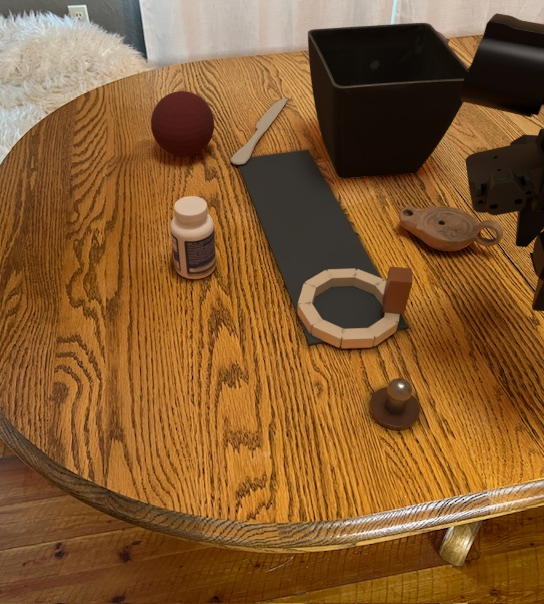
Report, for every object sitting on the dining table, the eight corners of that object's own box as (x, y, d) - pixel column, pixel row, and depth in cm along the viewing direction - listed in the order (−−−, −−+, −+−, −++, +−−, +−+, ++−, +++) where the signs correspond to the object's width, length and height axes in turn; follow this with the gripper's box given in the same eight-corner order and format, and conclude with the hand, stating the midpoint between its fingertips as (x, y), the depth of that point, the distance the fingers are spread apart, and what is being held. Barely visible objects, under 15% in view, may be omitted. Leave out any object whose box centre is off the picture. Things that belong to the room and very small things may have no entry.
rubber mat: (408, 328, 70) (408, 326, 70) (308, 345, 68) (309, 343, 68) (308, 151, 98) (308, 149, 97) (236, 160, 96) (236, 158, 96)
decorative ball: (213, 169, 95) (211, 110, 88) (150, 169, 95) (143, 110, 88) (216, 136, 102) (214, 79, 95) (158, 136, 102) (151, 79, 95)
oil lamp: (387, 238, 81) (393, 208, 78) (409, 211, 86) (416, 181, 82) (484, 274, 76) (495, 244, 72) (502, 243, 80) (514, 212, 77)
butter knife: (226, 160, 95) (243, 164, 94) (278, 96, 110) (293, 98, 109) (226, 163, 95) (244, 166, 94) (277, 98, 110) (293, 100, 110)
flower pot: (448, 184, 90) (479, 75, 78) (323, 195, 89) (335, 85, 77) (408, 122, 103) (429, 21, 91) (299, 131, 102) (306, 29, 90)
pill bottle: (223, 260, 79) (221, 199, 72) (203, 285, 76) (199, 223, 69) (188, 248, 81) (182, 187, 74) (167, 272, 78) (159, 211, 71)
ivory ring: (419, 315, 71) (432, 274, 66) (347, 365, 66) (355, 324, 61) (348, 264, 77) (354, 224, 73) (277, 306, 72) (279, 265, 68)
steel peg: (429, 412, 62) (439, 386, 58) (396, 439, 59) (404, 412, 56) (391, 382, 64) (399, 355, 61) (359, 406, 62) (365, 379, 59)
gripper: (474, 72, 55) (436, 211, 66) (504, 188, 42) (450, 338, 53) (605, 78, 53) (543, 220, 64) (679, 202, 40) (586, 352, 51)
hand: (528, 276), depth 58 cm, fingers open, 9 cm apart
